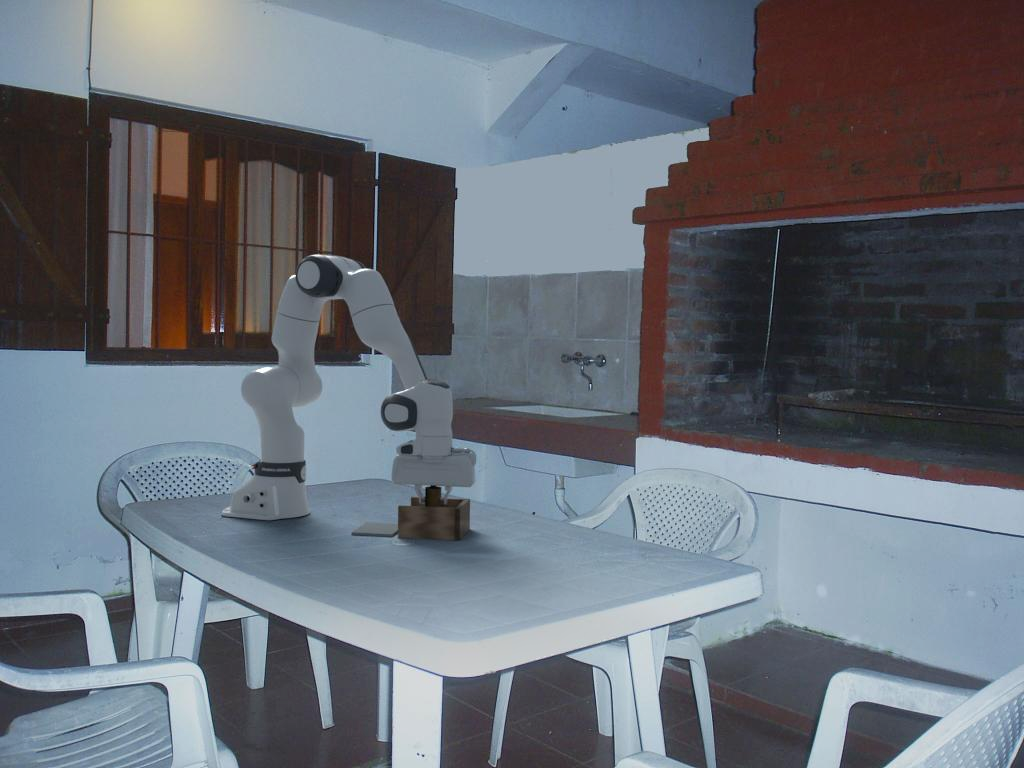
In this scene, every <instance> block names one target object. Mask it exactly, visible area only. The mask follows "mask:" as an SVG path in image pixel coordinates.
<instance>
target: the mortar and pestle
mask: <svg viewBox="0 0 1024 768" xmlns="http://www.w3.org/2000/svg"><path fill="white" fill-rule="evenodd" d="M424 488H425V489H424V493H425V507H441V504H440V497H441V496H442V486H430V485H428V486H425V487H424Z"/></svg>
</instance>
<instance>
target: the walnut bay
mask: <svg viewBox="0 0 1024 768" xmlns="http://www.w3.org/2000/svg"><path fill="white" fill-rule="evenodd" d="M397 506H398V507H397V524H398V533H397V537H398V538H399V539H417V540H418V539H419V540H438V541H441V540H442V541H461V539H462V538H463V537H464V536H465V535H466V534H467V532H469V531H470V528H471V527H470V526H471V525H470V524H471V522H470V520H471V517H470V516H471V499H470V498H457V497H456V498H453V497H452V498H451V497H448V500H447V504H446V505H442V504H441V507H425V504H420V503H419V496H411V497H410V505H397Z"/></svg>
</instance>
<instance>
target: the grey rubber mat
mask: <svg viewBox="0 0 1024 768" xmlns="http://www.w3.org/2000/svg"><path fill="white" fill-rule="evenodd" d="M396 534H398V523H392V522H374V521H373V522H372V521H371V522H370V521H369V522H368V521H367V522H365V523H363V524H362V525H360V526H359V527H357V528H355V529H354V530H353V531H352V532H351V536H365V537H366V536H367V537H368V536H370V537H387V538H392V537H394V536H395V535H396Z"/></svg>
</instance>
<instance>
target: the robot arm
mask: <svg viewBox="0 0 1024 768" xmlns="http://www.w3.org/2000/svg"><path fill="white" fill-rule="evenodd" d="M329 300H334V301H345V303H346V305H347V307H348V310H349V313H350V317H351V321H352V324H353V327H354V330H355V332H356V334H357V336H358V338H359V340H360V341H361V342H362V343H363V344H364V345H365V346H367V347H369V348H371V349H373V350H376V351H377V352H379V353H381V354H382V355H384V356H386V357H387V359H390V361H392V363H393V364H394V366H395V367H396V370H397V373H398V375H399V377H400V380H401V382H402V385H403V387H404V390H401V391H398V392H395V393H391V394H389V395H387V396H386V397H385V398H384V399H383V401H382V403H381V406H380V417H381V421H382V422H383V424H384V425H385V427H386V428H387V429H389V430H391V431H395V432H407V431H408V432H410V431H415V440H413V439H412V440H409V441H406V442H403V443H401V444H399V445H397V446H396V448H395V449H396V454H397V455H395V458H394V459H393V461H392V467H391V468H392V469H391V481H392V483H393V484H395V485H408V486H409V485H411V486H412V485H413V486H414V491H415V493H416V495H417V497H419V503H420V504H425V495H424V493H423V492H422V490H421V489H422V488H423V486H438V487H444V491H446V492H445V494H444V495H441V497H440V504H442V505H446V504H447V500H448V498H449V496H450V494H451V492H452V490H453V487H457V488H471V487H473V486H474V484H476V469H475V466H476V464H477V454H476V452H475V451H474V450H472V449H471V448H470V447H469V448H467V447H465V448H461V447H453V430H452V420H453V417H454V407H453V406H454V404H453V403H454V402H453V394H452V393H453V392H452V389H451V387H450V385H449V384H448V383H446V382H444V381H441V380H438V379H431V378H430V379H429V378H428V377H427V375H426V372H425V370H424V367H423V365H422V362H421V360H420V358H419V355H418V353H417V351H416V348H415V346H414V344H413V342H412V340H411V338H410V337H409V335H408V334H407V332H406V331H405V328H404V326H403V324H402V322H401V320H400V317H399V315H398V311H397V309H396V307H395V303H394V300H393V297H392V295H391V293H390V290H389V288H388V285H387V284H386V281H385V280H384V278H383V276H382V275H381V273H380V272H379V271H378V270H376V269H373V268H367V267H366V266H365V264H363V263H362V262H360V261H358V260H356V259H354V258H347V257H345V256H340V255H325V254H324V255H323V254H311V255H308V256H305V257H304V258H302V259H301V260H300V261H299V262H298V264H297V266H296V268H295V274H294V275H291V276H290V277H289V278H288V279H287V281H286V284H285V285H284V288H283V290H282V293H281V296H280V299H279V303H278V306H277V311H276V316H275V320H274V324H273V330H272V334H271V342H272V345H273V346H274V347H275V349H276V351H277V353H278V365H277V366H271V367H270V366H268V367H267V366H265V367H261V368H259V369H255V370H253V371H250V372H248V373H247V374H246V375H245V376H244V377H243V379H242V382H241V386H240V393H241V395H242V396H241V397H242V399H243V400H244V402H245V403H246V404H247V406H249V407H250V408H251V410H252V411H253V413H254V415H255V417H256V421H257V423H258V426H259V427H258V428H259V433H260V454H261V455H260V460H259V461H257V462H255V463H253V464H252V465H251V466H252V468H251V469H252V470H254V475H252V476H251V477H250V478H248V479H247V480H245V481H244V482H243V483H242V484H240V485H239V486H238V487H237V488H235V489H234V491H233V494H232V496H231V501H230V506H228V507H226V508H224V509H223V510H222V512H221V516H222V515H223V517H231V518H241V519H251V520H260V521H261V520H262V521H275V520H280V519H291V518H293V519H294V518H298V517H303V516H307V515H309V514H310V513H311V510H310V507H309V502H308V498H307V497H308V496H307V491H306V481H307V480H306V478H307V461H306V459H305V432H304V429H303V427H302V426H300V425H299V424H298V423H297V421H296V419H295V416H294V411H293V408H299V407H304V406H307V405H310V404H312V403H313V402H315V401H316V400H318V399H319V398H320V396H321V394H322V392H323V380H322V378H321V376H320V374H319V373H318V372H317V369H316V363H315V348H316V347H315V346H316V342H317V341H316V340H317V335H318V330H319V326H320V321H321V318H322V317H321V316H322V312H323V308H324V306H325V304H326V303H327V302H328V301H329Z"/></svg>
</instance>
